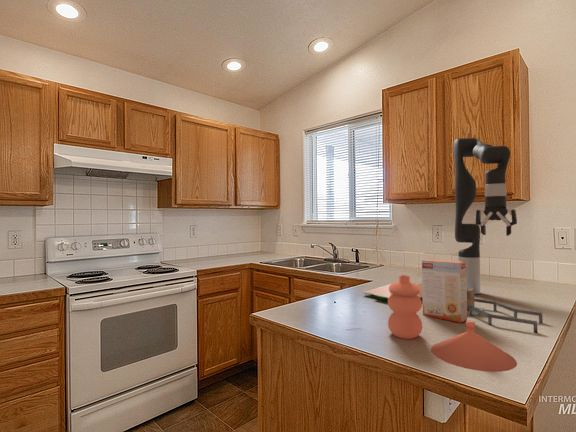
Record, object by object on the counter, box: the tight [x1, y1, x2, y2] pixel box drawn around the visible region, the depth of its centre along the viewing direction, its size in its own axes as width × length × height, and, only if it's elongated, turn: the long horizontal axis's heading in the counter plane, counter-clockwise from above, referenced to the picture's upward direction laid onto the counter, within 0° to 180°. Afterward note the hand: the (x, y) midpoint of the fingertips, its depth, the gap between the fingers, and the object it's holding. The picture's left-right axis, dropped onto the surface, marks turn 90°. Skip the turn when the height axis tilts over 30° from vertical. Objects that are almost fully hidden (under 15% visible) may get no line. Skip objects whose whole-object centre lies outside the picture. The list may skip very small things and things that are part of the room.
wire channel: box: [467, 298, 544, 334], centre depth 128 cm, size 32×22×4 cm
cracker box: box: [421, 258, 468, 324], centre depth 126 cm, size 14×6×21 cm, turn 41°
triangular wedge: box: [363, 283, 423, 303], centre depth 158 cm, size 23×33×8 cm
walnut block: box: [467, 288, 476, 311], centre depth 136 cm, size 5×5×8 cm
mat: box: [467, 307, 485, 316], centre depth 136 cm, size 10×11×1 cm
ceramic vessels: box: [387, 274, 518, 373], centre depth 97 cm, size 35×21×19 cm, turn 39°
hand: (495, 235), depth 141 cm, fingers open, 8 cm apart
